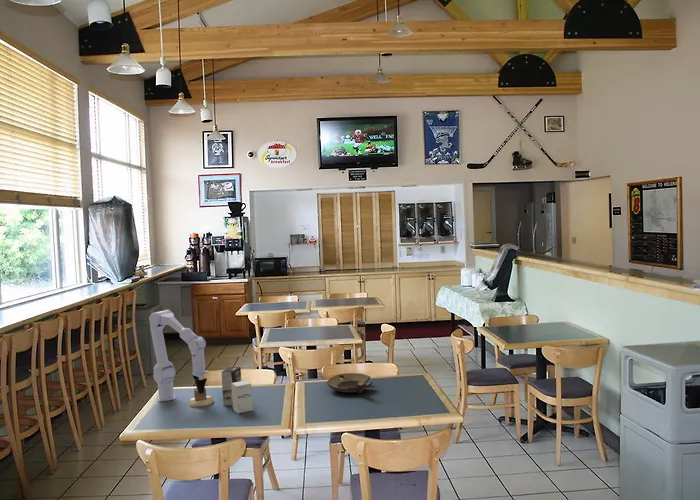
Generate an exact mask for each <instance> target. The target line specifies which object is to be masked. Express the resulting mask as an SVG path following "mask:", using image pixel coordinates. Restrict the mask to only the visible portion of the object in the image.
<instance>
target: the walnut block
mask: <svg viewBox="0 0 700 500" xmlns="http://www.w3.org/2000/svg"><path fill="white" fill-rule="evenodd" d="M193 395H194V397H195V401H202V400H207V399H206V396H207V389H206V387H205V388H204V393H201V394H199V391H198V388H197V387H195V388H193ZM194 397H193V398H194Z"/></svg>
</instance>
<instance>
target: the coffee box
mask: <svg viewBox="0 0 700 500" xmlns="http://www.w3.org/2000/svg"><path fill="white" fill-rule="evenodd" d="M241 369H242V368H241V366H230V367H229V366H228V367H227V368H226V369H223V370H222V371H221V373H220V374H221V388H222V405H223V406H233V401H232V385H231V383H234V382H240V381H242V371H241Z"/></svg>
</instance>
